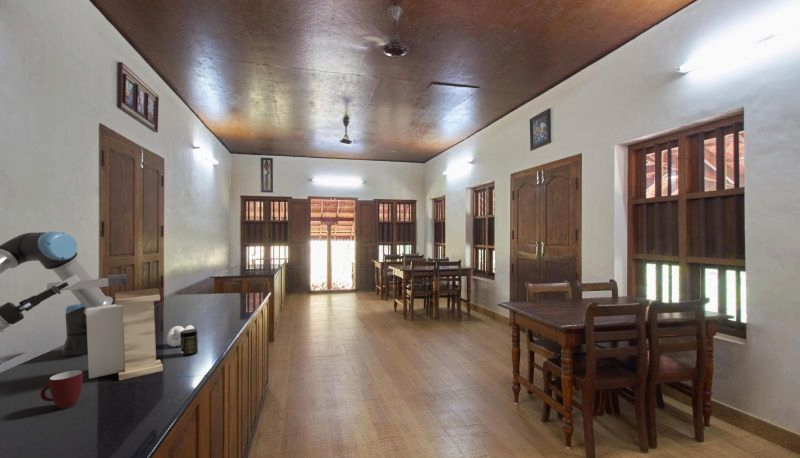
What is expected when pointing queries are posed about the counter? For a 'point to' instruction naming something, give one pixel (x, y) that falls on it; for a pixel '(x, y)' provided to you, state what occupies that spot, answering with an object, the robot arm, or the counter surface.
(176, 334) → the white twisted tube knot
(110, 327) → the block
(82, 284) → the steel bar
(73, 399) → the mug
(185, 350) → the supplement container
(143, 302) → the stand
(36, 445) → the counter surface
